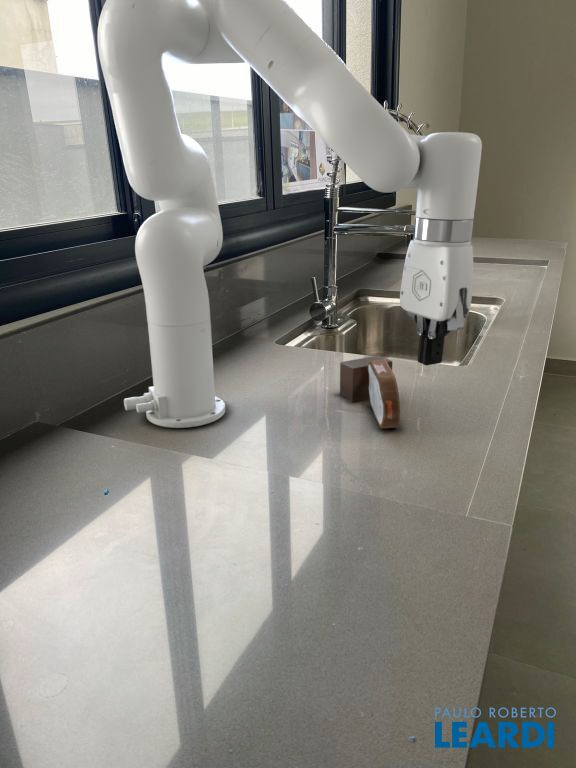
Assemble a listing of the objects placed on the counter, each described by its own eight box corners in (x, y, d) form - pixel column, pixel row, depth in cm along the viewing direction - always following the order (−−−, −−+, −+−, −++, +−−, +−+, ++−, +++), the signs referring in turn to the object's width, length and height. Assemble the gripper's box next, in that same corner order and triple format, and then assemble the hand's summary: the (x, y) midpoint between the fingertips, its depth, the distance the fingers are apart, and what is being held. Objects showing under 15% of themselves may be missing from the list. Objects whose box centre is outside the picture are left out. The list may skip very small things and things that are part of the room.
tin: (400, 437, 88) (403, 382, 85) (379, 437, 88) (381, 383, 85) (383, 400, 102) (385, 352, 99) (364, 400, 102) (366, 352, 99)
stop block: (352, 402, 101) (353, 368, 99) (339, 395, 105) (340, 362, 103) (391, 394, 105) (392, 361, 103) (377, 387, 108) (378, 355, 106)
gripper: (386, 227, 85) (377, 352, 92) (460, 239, 73) (444, 382, 79) (428, 226, 89) (416, 346, 95) (505, 237, 76) (487, 374, 83)
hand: (429, 362), depth 87 cm, fingers closed
